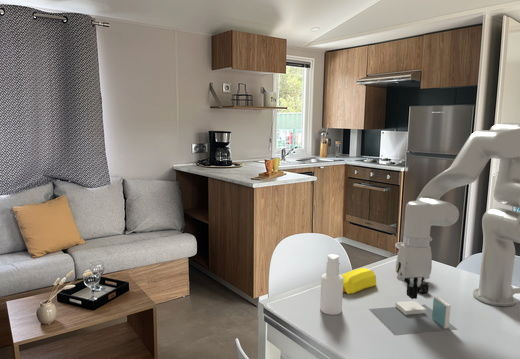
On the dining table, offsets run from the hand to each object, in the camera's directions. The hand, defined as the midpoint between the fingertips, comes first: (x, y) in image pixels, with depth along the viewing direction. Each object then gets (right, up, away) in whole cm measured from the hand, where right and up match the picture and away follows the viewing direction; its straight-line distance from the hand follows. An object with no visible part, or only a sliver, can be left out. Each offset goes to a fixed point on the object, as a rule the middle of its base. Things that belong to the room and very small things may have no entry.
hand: (411, 296), depth 128 cm
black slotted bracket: (+9, -4, +16) cm, 18 cm away
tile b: (+6, -6, -7) cm, 11 cm away
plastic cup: (+10, -1, +31) cm, 33 cm away
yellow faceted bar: (-13, -3, +18) cm, 22 cm away
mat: (-2, -6, -5) cm, 8 cm away
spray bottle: (-26, -5, +1) cm, 26 cm away
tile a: (+3, -4, +1) cm, 5 cm away
